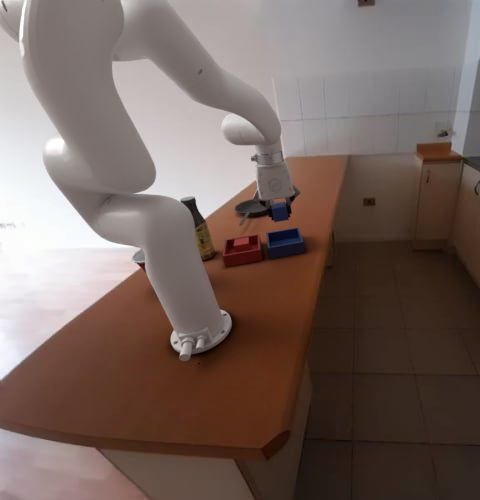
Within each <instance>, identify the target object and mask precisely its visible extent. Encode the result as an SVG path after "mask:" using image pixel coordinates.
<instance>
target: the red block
mask: <svg viewBox="0 0 480 500" xmlns="http://www.w3.org/2000/svg"><path fill="white" fill-rule="evenodd" d="M234 248H235V252H236V253H238V252H244V251H250V250H252V249H251V245H250V241H249V237H246V238H240V239H235V240H234Z"/></svg>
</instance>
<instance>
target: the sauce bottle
mask: <svg viewBox="0 0 480 500" xmlns="http://www.w3.org/2000/svg"><path fill="white" fill-rule="evenodd" d="M179 201H180V202H181V203H183V204H184V205H185V206H186V207H187V208H188V209H189V210H190V212H191V214H192V216H193V220H194V225H195V234H196V241H197V246H198V249H199V253H200V256H201V259H202V261H206V260H209V259H211V258H213V257H214V256H215V255H216V252H215V246H214V243H213V239H212V236H211V233H210V230H209V226H208V223H207V220H206V219H205V217H204V216H203V215H202V214H201V212H200V210H199V208H198V205H197V199H196V197H195V196H193V195H192V196H184V197H182V198H180V200H179Z"/></svg>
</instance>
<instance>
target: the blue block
mask: <svg viewBox="0 0 480 500" xmlns="http://www.w3.org/2000/svg"><path fill="white" fill-rule="evenodd" d="M271 208H272V213H273V218H274V220H273V222H274V223H279V222H286V221H289V220H290V218H289V217H288V212H287V206H286V201H280V202H279V201H278V202H274V203H273V204H271Z"/></svg>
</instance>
